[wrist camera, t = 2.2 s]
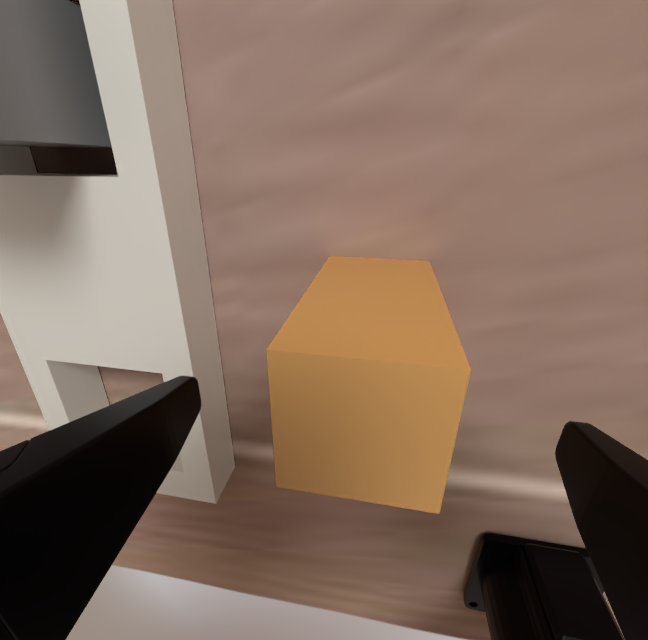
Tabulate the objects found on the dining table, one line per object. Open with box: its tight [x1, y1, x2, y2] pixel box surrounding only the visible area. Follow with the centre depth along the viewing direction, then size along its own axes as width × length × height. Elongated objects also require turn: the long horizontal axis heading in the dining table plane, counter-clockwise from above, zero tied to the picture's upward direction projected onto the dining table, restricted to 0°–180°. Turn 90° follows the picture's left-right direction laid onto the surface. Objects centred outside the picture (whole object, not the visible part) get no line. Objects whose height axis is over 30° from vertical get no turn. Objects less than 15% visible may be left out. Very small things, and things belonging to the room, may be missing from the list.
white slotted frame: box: [0, 0, 235, 504], centre depth 15 cm, size 24×9×2 cm, turn 0°
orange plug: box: [267, 256, 471, 514], centre depth 11 cm, size 4×4×8 cm
